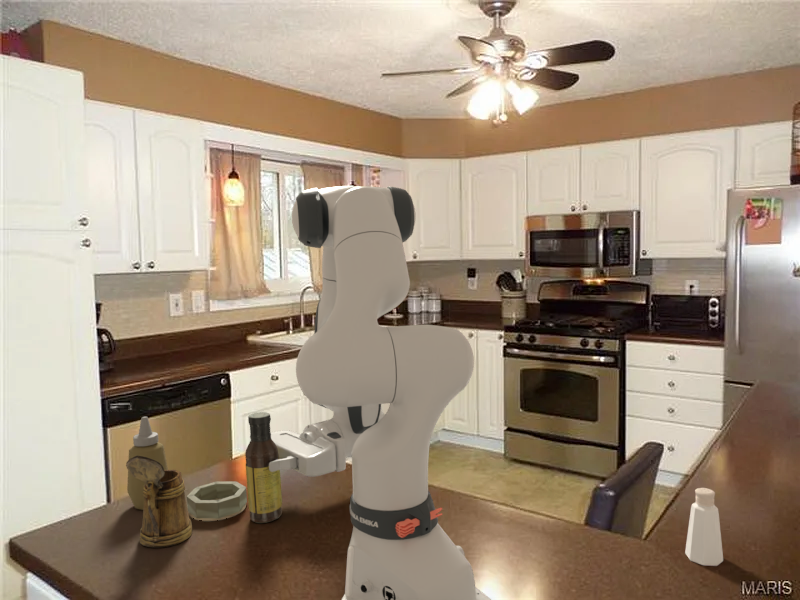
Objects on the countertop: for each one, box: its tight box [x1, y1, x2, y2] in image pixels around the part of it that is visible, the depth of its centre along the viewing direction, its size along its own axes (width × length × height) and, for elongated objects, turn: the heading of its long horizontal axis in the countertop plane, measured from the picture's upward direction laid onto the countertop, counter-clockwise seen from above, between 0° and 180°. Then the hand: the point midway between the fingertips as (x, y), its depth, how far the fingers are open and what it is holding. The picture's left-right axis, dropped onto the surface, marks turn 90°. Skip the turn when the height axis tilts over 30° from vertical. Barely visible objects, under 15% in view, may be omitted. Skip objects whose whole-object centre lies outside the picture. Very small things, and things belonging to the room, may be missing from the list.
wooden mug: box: [125, 456, 193, 549], centre depth 104 cm, size 9×14×18 cm, turn 178°
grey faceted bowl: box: [186, 480, 248, 522], centre depth 118 cm, size 11×11×4 cm
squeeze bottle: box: [126, 416, 169, 511], centre depth 120 cm, size 8×8×18 cm
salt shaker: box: [684, 487, 724, 567], centre depth 94 cm, size 5×5×11 cm
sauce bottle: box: [244, 411, 283, 524], centre depth 113 cm, size 6×6×20 cm
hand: (258, 461), depth 112 cm, fingers closed on sauce bottle, 6 cm apart
